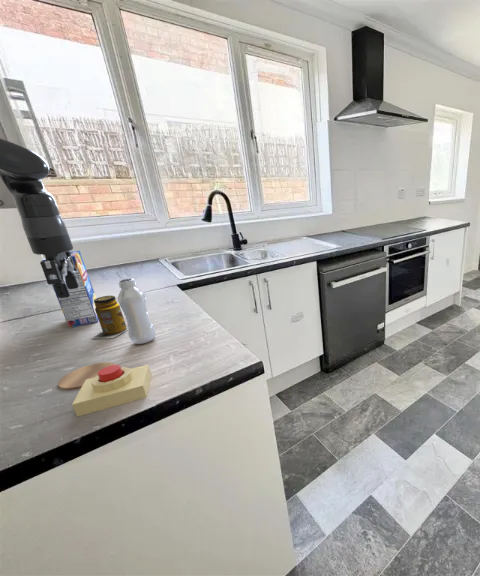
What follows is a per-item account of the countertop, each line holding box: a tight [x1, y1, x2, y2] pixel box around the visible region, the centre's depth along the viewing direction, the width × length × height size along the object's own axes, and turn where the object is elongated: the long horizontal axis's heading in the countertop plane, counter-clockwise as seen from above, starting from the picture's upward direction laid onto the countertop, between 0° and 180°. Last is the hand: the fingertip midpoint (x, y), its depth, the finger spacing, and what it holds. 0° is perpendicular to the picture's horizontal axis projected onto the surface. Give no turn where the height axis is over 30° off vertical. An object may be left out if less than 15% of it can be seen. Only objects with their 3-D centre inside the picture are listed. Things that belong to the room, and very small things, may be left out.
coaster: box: [57, 361, 116, 391], centre depth 79 cm, size 11×11×1 cm
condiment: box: [91, 295, 129, 340], centre depth 100 cm, size 7×8×12 cm
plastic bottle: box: [117, 277, 157, 345], centre depth 93 cm, size 6×7×20 cm
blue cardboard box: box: [41, 250, 99, 329], centre depth 108 cm, size 12×8×24 cm, turn 37°
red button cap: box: [98, 364, 123, 382], centre depth 70 cm, size 4×4×2 cm
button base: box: [71, 364, 153, 417], centre depth 71 cm, size 12×10×5 cm
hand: (69, 292), depth 85 cm, fingers open, 8 cm apart
